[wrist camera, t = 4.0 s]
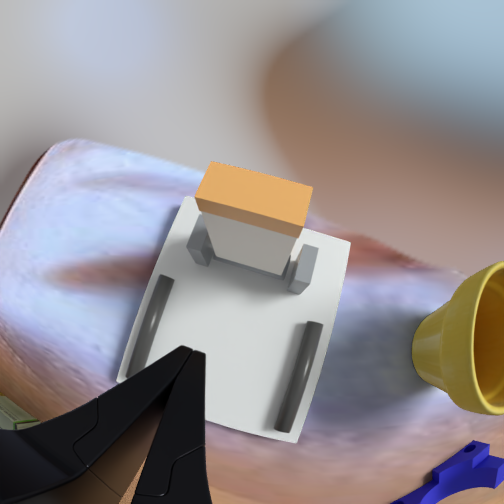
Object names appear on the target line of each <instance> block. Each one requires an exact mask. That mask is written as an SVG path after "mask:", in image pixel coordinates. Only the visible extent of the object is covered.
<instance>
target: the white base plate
mask: <svg viewBox="0 0 504 504" xmlns="http://www.w3.org/2000/svg"><path fill="white" fill-rule="evenodd" d="M350 244H351V242H348V241H345V240H341V239H338V238H335V237H332V236H329V235H325V234H322V233H319V232H315V231H312V230H309V229H305V228H303V229H302V232H301V234H300V236H299V239H298V238H297V240H296V242H295V245H294V247H293V249H292V252H291V254H290V255H291V259H290V263H289V266H288V270H287V273H286V276H285V279H284V281H283V280H280V279H276V278H273V277H270V276H266V275H263V274H259V273H256V272H253V271H249V270H246V269H243V268H239V267H236V266H233V265H229V264H226V263H223V262H220V261H216V260H214V259H213V253H214V249H213V246H212V243H211V240H210V237H209V234H208V231H207V228H206V225H205V222H204V219H203V216H202V213H201V211H199V209H198V206H197V203H196V200H195V198H192V197H188V196H185V198H184V200H183V202H182V205H181V207H180V209H179V211H178V213H177V216H176V218H175V220H174V222H173V225H172V227H171V229H170V231H169V234H168V236H167V238H166V241H165V243H164V246H163V248H162V250H161V253H160V255H159V258H158V260H157V263H156V265H155V268H154V270H153V273H152V275H151V278H150V280H149V283H148V286H147V288H146V291H145V294H144V296H143V299H142V302H141V305H140V307H139V310H138V313H137V316H136V319H135V322H134V325H133V328H132V331H131V334H130V337H129V340H128V343H127V346H126V349H125V353H124V356H123V359H122V362H121V366H120V369H119V373H118V376H117V380H116V382H118V383H121V382H123V381H125V380H126V379H128V378H129V377H131V376H133V375H134V374H136V373H138V372H139V371H141V370H142V369H144V368H146V367H147V366H149V365H150V364H152V363H154V362H155V361H157V360H158V359H160V358H161V357H163V356H165V355H166V354H168V353H169V352H171V351H172V350H174V349H175V348H177V347H179V346H180V345H184V346H187V347H190V348H192V349H193V351H194V350H198V351H201V352H204V353H205V354H206V385H205V420H208V421H211V422H214V423H217V424H220V425H223V426H226V427H230V428H233V429H237V430H240V431H244V432H248V433H251V434H255V435H259V436H264V437H268V438H272V439H277V440H282V441H287V442H292V443H297V441H298V438H299V435H300V433H301V430H302V427H303V424H304V422H305V419H306V416H307V413H308V410H309V407H310V404H311V401H312V398H313V395H314V392H315V389H316V386H317V383H318V379H319V376H320V373H321V369H322V366H323V363H324V359H325V356H326V352H327V348H328V345H329V341H330V337H331V333H332V329H333V325H334V321H335V317H336V313H337V309H338V304H339V300H340V295H341V291H342V286H343V281H344V276H345V271H346V266H347V261H348V255H349V250H350Z"/></svg>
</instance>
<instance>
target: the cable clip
mask: <svg viewBox="0 0 504 504" xmlns="http://www.w3.org/2000/svg"><path fill="white" fill-rule="evenodd" d="M489 447H490V444H486V443H482V442H478V441H474V440H473V441H472V442H471V443H469V444H468V445H467V446H466V447H464V448H463V449H462V450H460V451H459V452H458V453H456V454H455V455H454V456H452V457H451V458H449V459H448V460H446V461H445V462H444V463H442V464H441V465H439V466H438V467H436V468H434V469H433V470H432V480H431V481H430V482H428V483H426V484H425V485H423V486H421V487H420V488H418V489H416V490H415V491H413V492H411V493H409V494H407V495H406V496H404V497H402V498H400V499H398V500H396V501H394V502H392V503H390V504H436V503H437V502H439V501H440V500H442V499H444V498H446V497H448V496H450V495H452V494H454V493H457V492H459V491H462V490H466V489H470V488H476V487H489V488H494V489H495V488H496V487H497V486H498V485H499V484H500V483H501V482H502V481H503V480H504V459H503V458H499V457H495V456H491V455H489Z"/></svg>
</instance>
